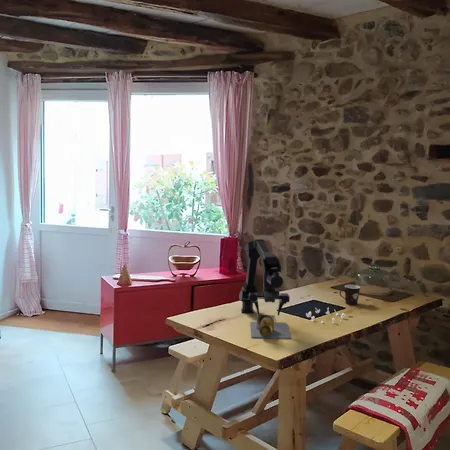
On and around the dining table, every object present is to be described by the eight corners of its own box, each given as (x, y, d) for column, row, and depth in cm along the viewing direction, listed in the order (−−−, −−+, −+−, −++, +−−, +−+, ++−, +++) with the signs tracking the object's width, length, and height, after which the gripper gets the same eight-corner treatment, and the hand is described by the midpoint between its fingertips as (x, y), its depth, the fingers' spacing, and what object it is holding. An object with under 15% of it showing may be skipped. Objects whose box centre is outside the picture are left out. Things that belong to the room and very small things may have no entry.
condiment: (274, 329, 247) (272, 339, 235) (256, 328, 248) (253, 338, 236) (274, 315, 245) (272, 324, 234) (256, 314, 247) (254, 323, 235)
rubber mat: (250, 322, 259) (250, 321, 259) (286, 323, 258) (286, 322, 258) (251, 337, 237) (251, 336, 237) (290, 339, 236) (290, 337, 236)
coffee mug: (357, 302, 300) (358, 285, 298) (360, 306, 291) (361, 288, 290) (337, 301, 301) (338, 284, 300) (339, 305, 292) (340, 287, 291)
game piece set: (346, 315, 275) (346, 308, 274) (341, 326, 256) (342, 319, 256) (310, 311, 281) (310, 304, 281) (302, 322, 263) (302, 314, 262)
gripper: (249, 286, 234) (248, 319, 236) (291, 287, 233) (290, 321, 235) (249, 280, 245) (248, 312, 247) (288, 281, 244) (287, 313, 246)
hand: (268, 315), depth 244 cm, fingers open, 9 cm apart
